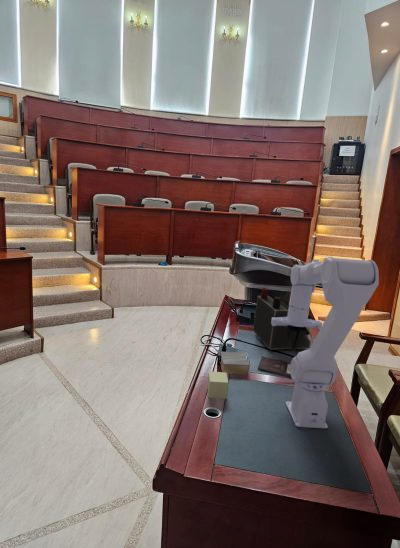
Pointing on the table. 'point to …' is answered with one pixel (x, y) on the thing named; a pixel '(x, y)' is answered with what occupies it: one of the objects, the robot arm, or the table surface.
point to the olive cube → (217, 385)
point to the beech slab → (234, 363)
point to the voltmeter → (263, 328)
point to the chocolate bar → (275, 366)
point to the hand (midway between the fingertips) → (292, 348)
